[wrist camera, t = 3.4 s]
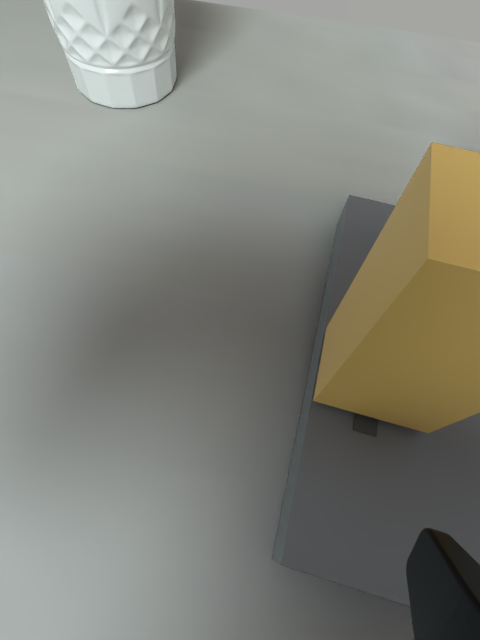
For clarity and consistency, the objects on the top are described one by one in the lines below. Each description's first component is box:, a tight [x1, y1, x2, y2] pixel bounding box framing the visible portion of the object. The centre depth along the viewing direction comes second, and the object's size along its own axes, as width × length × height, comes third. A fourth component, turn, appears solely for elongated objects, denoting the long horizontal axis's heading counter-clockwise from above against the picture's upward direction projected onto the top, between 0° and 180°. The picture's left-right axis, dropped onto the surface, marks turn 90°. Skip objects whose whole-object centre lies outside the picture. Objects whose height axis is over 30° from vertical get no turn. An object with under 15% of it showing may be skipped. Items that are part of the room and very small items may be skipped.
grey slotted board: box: [272, 195, 480, 606], centre depth 15 cm, size 16×12×2 cm
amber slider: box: [313, 142, 480, 433], centre depth 10 cm, size 3×4×8 cm
